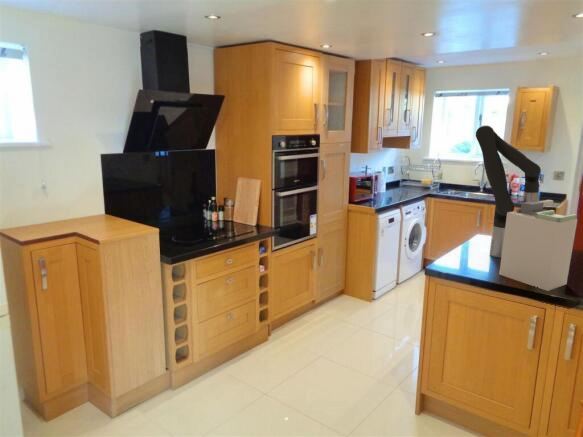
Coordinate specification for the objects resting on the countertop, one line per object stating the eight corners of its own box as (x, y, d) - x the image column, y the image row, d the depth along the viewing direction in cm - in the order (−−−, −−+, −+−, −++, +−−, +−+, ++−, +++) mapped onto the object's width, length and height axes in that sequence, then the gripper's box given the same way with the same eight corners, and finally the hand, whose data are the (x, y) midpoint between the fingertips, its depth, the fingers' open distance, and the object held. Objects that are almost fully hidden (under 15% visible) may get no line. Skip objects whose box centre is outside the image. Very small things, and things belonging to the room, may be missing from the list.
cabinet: (517, 268, 220) (526, 205, 213) (566, 284, 200) (578, 214, 192) (499, 274, 213) (507, 208, 205) (547, 290, 192) (559, 218, 185)
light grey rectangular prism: (544, 208, 215) (545, 198, 214) (554, 210, 211) (556, 200, 210) (520, 212, 205) (521, 202, 203) (530, 214, 200) (531, 204, 199)
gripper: (522, 197, 238) (520, 225, 241) (523, 202, 225) (522, 231, 228) (537, 198, 234) (535, 226, 238) (540, 202, 222) (538, 232, 225)
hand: (528, 229), depth 233 cm, fingers open, 8 cm apart
